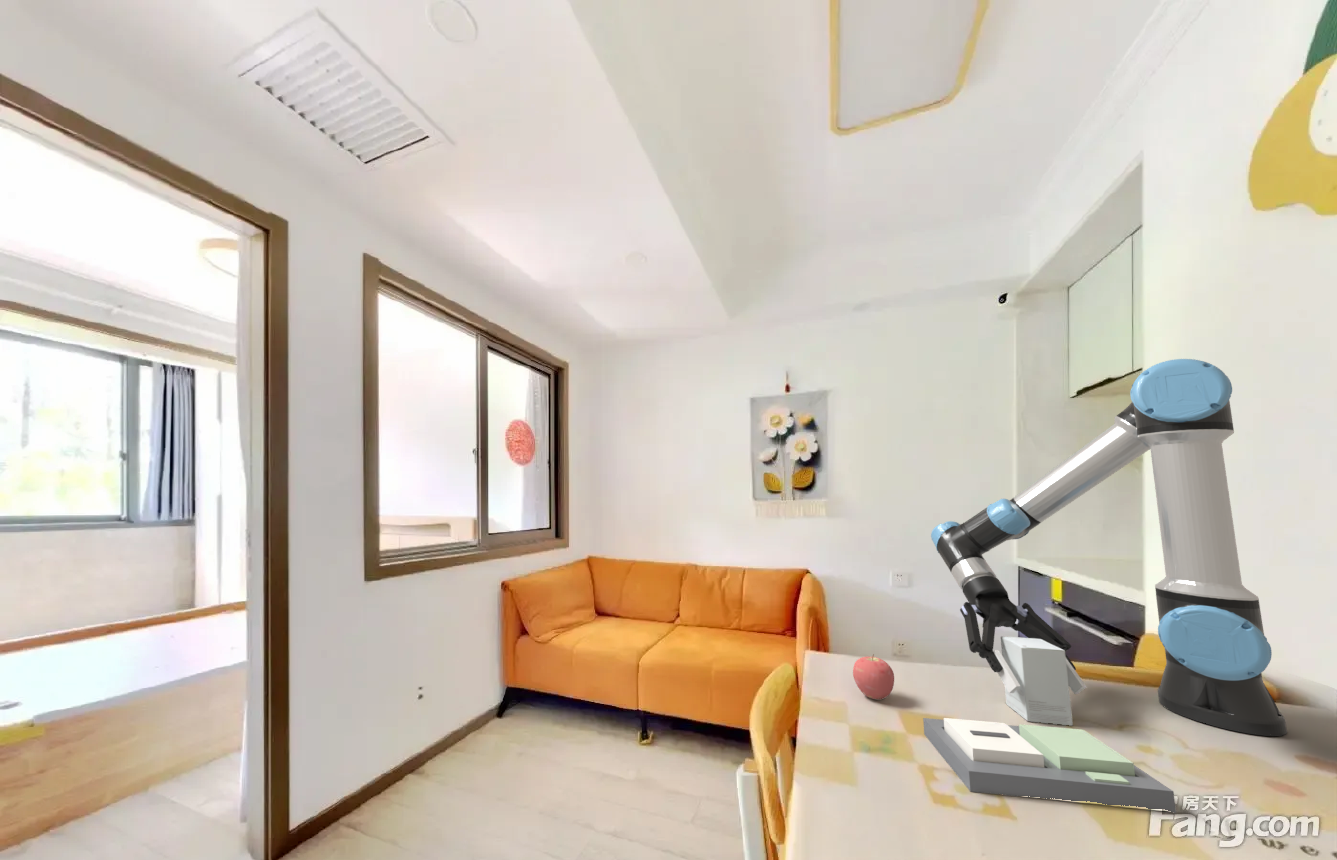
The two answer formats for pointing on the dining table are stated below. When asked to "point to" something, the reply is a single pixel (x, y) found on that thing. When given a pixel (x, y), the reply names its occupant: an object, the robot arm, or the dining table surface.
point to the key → (1076, 750)
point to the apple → (873, 677)
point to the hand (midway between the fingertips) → (1047, 690)
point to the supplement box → (1038, 680)
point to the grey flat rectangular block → (1032, 768)
